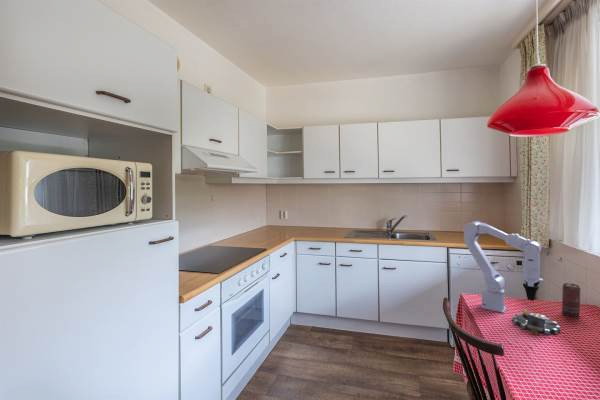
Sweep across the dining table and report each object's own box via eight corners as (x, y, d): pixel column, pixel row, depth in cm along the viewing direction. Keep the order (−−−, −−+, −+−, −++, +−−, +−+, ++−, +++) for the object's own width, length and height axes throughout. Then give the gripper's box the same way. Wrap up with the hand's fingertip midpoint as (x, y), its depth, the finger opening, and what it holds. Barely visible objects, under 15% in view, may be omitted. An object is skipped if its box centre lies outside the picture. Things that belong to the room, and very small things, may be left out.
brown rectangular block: (531, 333, 125) (531, 327, 125) (531, 332, 126) (531, 326, 125) (537, 335, 123) (537, 329, 123) (537, 334, 124) (537, 328, 124)
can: (571, 311, 144) (572, 282, 144) (583, 317, 138) (584, 287, 137) (558, 311, 145) (559, 282, 144) (568, 317, 139) (569, 287, 138)
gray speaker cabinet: (545, 324, 128) (545, 315, 128) (544, 328, 125) (545, 318, 125) (527, 320, 132) (527, 311, 132) (526, 324, 129) (526, 314, 129)
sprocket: (534, 335, 123) (534, 325, 123) (504, 317, 139) (504, 309, 139) (570, 332, 124) (570, 323, 124) (536, 315, 140) (536, 307, 140)
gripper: (542, 273, 130) (541, 304, 130) (543, 266, 141) (542, 294, 141) (522, 271, 134) (521, 300, 135) (524, 263, 145) (524, 291, 146)
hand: (531, 297), depth 138 cm, fingers open, 7 cm apart
